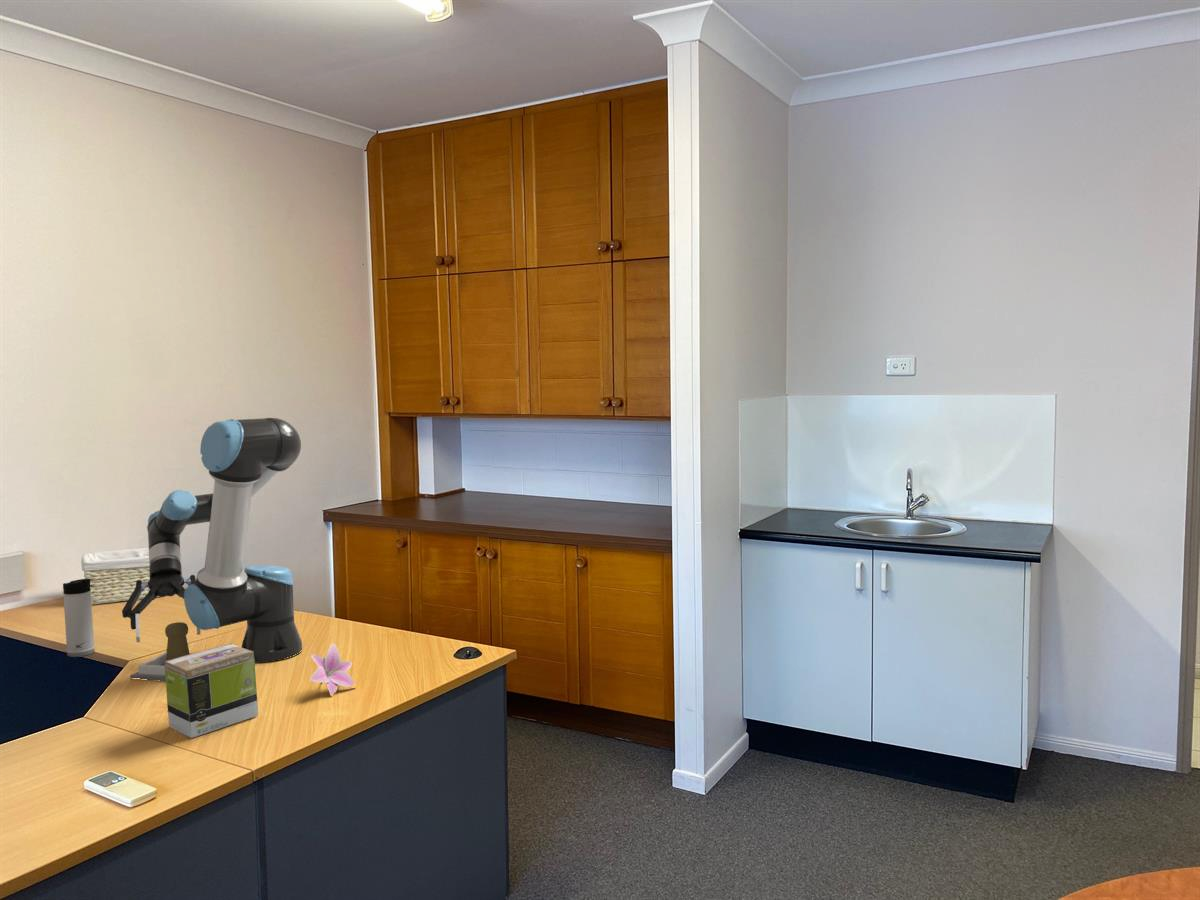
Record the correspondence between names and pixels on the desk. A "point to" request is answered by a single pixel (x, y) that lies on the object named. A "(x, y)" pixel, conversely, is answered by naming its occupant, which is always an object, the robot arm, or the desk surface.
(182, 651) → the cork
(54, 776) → the desk surface
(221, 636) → the desk surface
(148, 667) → the grey square tray
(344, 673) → the lily
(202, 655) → the tea box
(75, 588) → the travel mug
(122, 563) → the storage basket
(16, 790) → the desk surface
